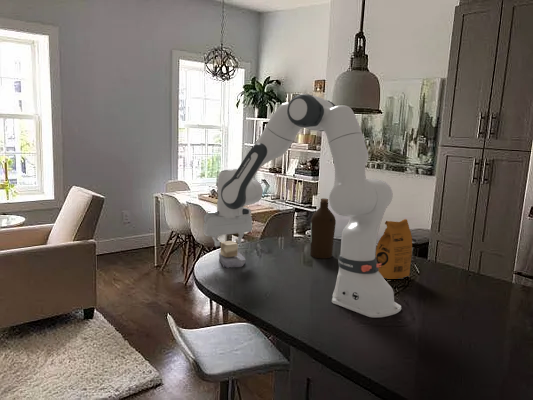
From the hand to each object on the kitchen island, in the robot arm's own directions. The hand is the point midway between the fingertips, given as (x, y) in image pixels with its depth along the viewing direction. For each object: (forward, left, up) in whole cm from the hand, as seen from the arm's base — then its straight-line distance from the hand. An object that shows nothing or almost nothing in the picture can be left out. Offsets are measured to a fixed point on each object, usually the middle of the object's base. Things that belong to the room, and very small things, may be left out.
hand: (227, 244), depth 173 cm
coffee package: (-42, -48, -8) cm, 64 cm away
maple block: (0, -1, -4) cm, 4 cm away
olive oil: (-8, -42, -8) cm, 43 cm away
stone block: (0, -3, -9) cm, 9 cm away
